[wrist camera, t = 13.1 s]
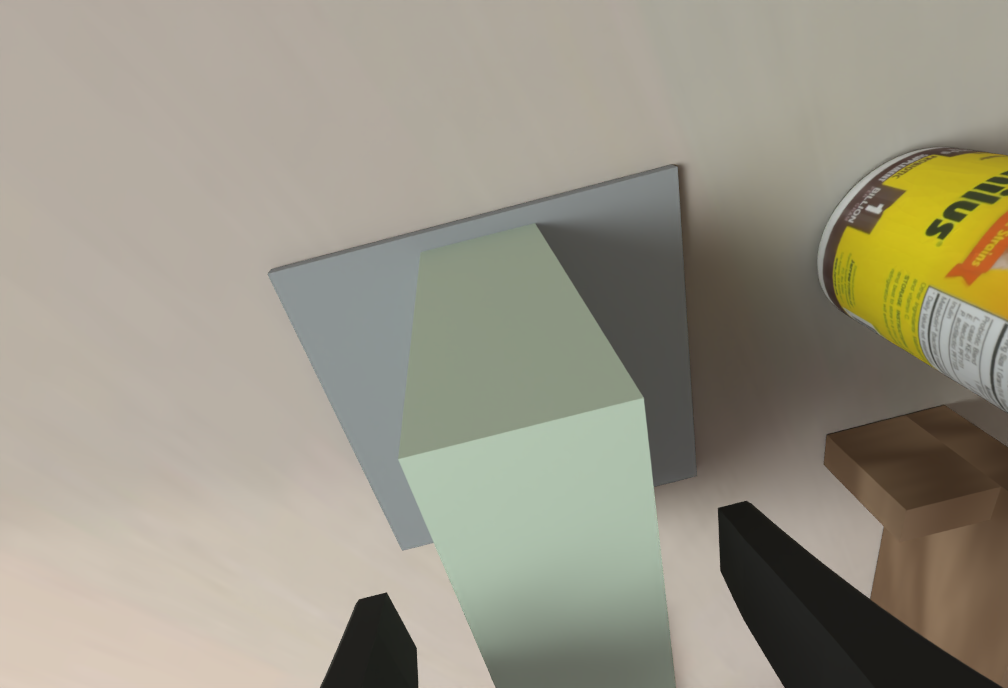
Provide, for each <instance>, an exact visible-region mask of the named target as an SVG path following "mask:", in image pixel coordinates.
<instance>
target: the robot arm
mask: <svg viewBox="0 0 1008 688" xmlns="http://www.w3.org/2000/svg"><path fill="white" fill-rule="evenodd" d="M718 521H719V547H720V571H721V573H722V575H723V577H724V579H725V582H726V584H727V586H728V588H729V590H730V592H731V594H732V597H733V599H734V601H735V603H736V605H737V607H738V609H739V611H740V613H741V615H742V617H743V619H744V621H745V623H746V624H747V626H748V628H749V629H750V631H751V633H752V635H753V636H754V638H755V640H756V641H757V643H758V644H759V646H760V648H761V649H762V651H763V653H764V654H765V656H766V658H767V659H768V661H769V663H770V664H771V666H772V668H773V669H774V671H775V673H776V674H777V676H778V677H779V679H780V681H781V682H782V684H783V686H784V687H785V688H1003V687H1002V686H1000V685H998V684H997V683H995V682H993V681H992V680H990V679H988V678H987V677H985V676H984V675H982V674H980V673H979V672H977V671H975V670H974V669H972V668H971V667H969V666H968V665H966V664H964V663H963V662H961V661H960V660H958V659H957V658H955V657H953V656H952V655H950V654H949V653H947V652H946V651H944V650H943V649H941V648H940V647H938V646H937V645H935V644H934V643H932V642H931V641H929V640H927V639H926V638H925V637H923V636H922V635H920V634H919V633H917V632H916V631H914V630H913V629H911V628H910V627H908V626H907V625H906V624H904V623H903V622H901V621H900V620H898V619H897V618H896V617H894V616H893V615H891V614H890V613H889V612H887V611H886V610H884V609H883V608H881V607H880V606H879V605H877V604H876V603H875V602H873V601H872V600H870V599H869V598H868V597H866V596H865V595H864V594H862V593H861V592H860V591H858V590H857V589H856V588H854V587H853V586H852V585H850V584H849V583H848V582H846V581H845V580H844V579H843V578H841V577H840V576H839V575H837V574H836V573H835V572H833V571H832V570H831V569H830V568H828V567H827V566H826V565H824V564H823V563H822V562H821V561H819V560H818V559H817V558H816V557H814V556H813V555H812V554H810V553H809V552H808V551H807V550H806V549H804V548H803V547H802V546H801V545H799V544H798V543H797V542H796V541H795V540H793V539H792V538H791V537H790V536H789V535H787V534H786V533H785V532H784V531H783V530H781V529H780V528H779V527H778V526H777V525H775V524H774V523H773V522H772V521H771V520H770V519H768V518H767V517H766V516H765V515H764V514H763V513H762V512H760V511H759V510H758V509H757V508H756V507H755V506H753V505H752V504H751V503H749V502H748V501H744V502H740V503H736V504H732V505H728V506H724V507H720V508H718ZM320 688H418V667H417V648H416V646H415V644H414V642H413V640H412V638H411V637H410V635H409V633H408V631H407V629H406V627H405V625H404V624H403V622H402V620H401V618H400V616H399V614H398V612H397V611H396V609H395V607H394V605H393V603H392V601H391V599H390V598H389V596H388V594H387V592H386V593H383V594H379V595H375V596H371V597H367V598H363V599H359V600H358V602H357V603H356V605H355V607H354V610H353V612H352V615H351V617H350V620H349V622H348V624H347V627H346V629H345V632H344V634H343V636H342V639H341V641H340V643H339V646H338V648H337V650H336V653H335V655H334V657H333V660H332V662H331V664H330V667H329V669H328V671H327V673H326V676H325V678H324V680H323V682H322V684H321V687H320Z"/></svg>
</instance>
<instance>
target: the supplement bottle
mask: <svg viewBox="0 0 1008 688" xmlns="http://www.w3.org/2000/svg"><path fill="white" fill-rule="evenodd" d="M817 269H818V276H819V281H820V284H821V286H822V289H823V291H824V293H825V294H826V296H827V297H828V299H829V300H830V301H831V303H832V304H833V305H834V306H836V307H837V308H838V309H839V310H840V311H842V312H843V313H845V314H846V315H848V316H849V317H851V318H853V319H854V320H856V321H858V322H859V323H861V324H863V325H864V326H866V327H867V328H869V329H871V330H872V331H874V332H875V333H877V334H879V335H880V336H882V337H883V338H885V339H887V340H888V341H890V342H892V343H893V344H895V345H897V346H898V347H900V348H902V349H904V350H905V351H907V352H909V353H910V354H912V355H913V356H915V357H917V358H918V359H920V360H921V361H923V362H925V363H926V364H928V365H930V366H931V367H933V368H934V369H936V370H937V371H939V372H941V373H942V374H944V375H946V376H947V377H949V378H951V379H952V380H954V381H956V382H957V383H959V384H961V385H962V386H964V387H966V388H967V389H969V390H971V391H972V392H974V393H975V394H977V395H979V396H980V397H982V398H984V399H985V400H987V401H989V402H990V403H992V404H993V405H995V406H997V407H998V408H1000V409H1002V410H1003V411H1005V412H1007V413H1008V156H1007V155H1001V154H993V153H987V152H980V151H974V150H966V149H958V148H948V147H936V148H927V149H922V150H917V151H913V152H910V153H907V154H904V155H901V156H899V157H897V158H895V159H892V160H891V161H889V162H887V163H885V164H883V165H881V166H880V167H878V168H877V169H875V170H874V171H872V172H871V173H869V174H868V175H867V176H866V177H864V178H863V179H862V180H861V181H860V182H859V183H857V184H856V185H855V186H854V187H853V188H852V189H851V190H850V191H849V192H848V194H847V195H846V196H845V197H844V198H843V200H842V201H841V202H840V204H839V205H838V206H837V208H836V209H835V211H834V212H833V214H832V215H831V217H830V219H829V221H828V223H827V225H826V227H825V230H824V232H823V235H822V238H821V241H820V245H819V249H818V258H817Z"/></svg>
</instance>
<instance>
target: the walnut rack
mask: <svg viewBox="0 0 1008 688" xmlns="http://www.w3.org/2000/svg"><path fill="white" fill-rule="evenodd" d="M824 465H825V466H826V467H827V468H828V470H829V471H830V472H831V473H832V474H833V475H834V476H835V477H836V478H837V479H838V480H839V481H840V482H841V483H842V484H843V485H844V486H845V487H846V488H847V489H848V490H849V491H850V492H851V493H852V494H853V495H854V496H855V497H856V498H857V499H858V500H859V501H860V502H861V503H862V504H863V505H864V506H865V507H866V509H867V510H868V511H869V512H870V513H871V514H872V515H873V516H874V517H875V518H876V519H877V520H878V521H879V522H880V523H881V524H882V525H883V526H884V529H883V535H882V540H881V545H880V550H879V556H878V561H877V566H876V572H875V577H874V582H873V587H872V593H871V598H870V600H872V601H873V602H875V603H876V604H877V605H879V606H880V607H881V608H883V609H884V610H886V611H887V612H889V613H890V614H891V615H893V616H894V617H896V618H897V619H898V620H900V621H901V622H903V623H904V624H906V625H907V626H908V627H910V628H911V629H913V630H914V631H916V632H917V633H919V634H920V635H922V636H923V637H925V638H926V639H927V640H929V641H931V642H932V643H934V644H935V645H937V646H938V647H940V648H941V649H943V650H944V651H946V652H947V653H949V654H950V655H952V656H953V657H955V658H957V659H958V660H960V661H961V662H963V663H964V664H966V665H968V666H969V667H971V668H972V669H974V670H975V671H977V672H979V673H980V674H982V675H984V676H985V677H987V678H988V679H990V680H992V681H993V682H995V683H997V684H998V685H1000V686H1002V687H1003V688H1008V447H1007V446H1005V445H1004V444H1002V443H1001V442H999V441H998V440H996V439H995V438H993V437H992V436H990V435H989V434H987V433H986V432H984V431H983V430H981V429H980V428H978V427H977V426H975V425H974V424H972V423H971V422H969V421H968V420H966V419H965V418H963V417H962V416H960V415H958V414H957V413H955V412H954V411H952V410H951V409H949V408H948V407H946V406H945V405H943V406H939V407H936V408H932V409H928V410H924V411H920V412H916V413H912V414H908V415H904V416H900V417H896V418H892V419H888V420H884V421H880V422H876V423H872V424H868V425H865V426H861V427H857V428H853V429H849V430H845V431H841V432H837V433H833V434H829V435H827V437H826V447H825V457H824Z"/></svg>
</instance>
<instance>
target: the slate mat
mask: <svg viewBox="0 0 1008 688" xmlns="http://www.w3.org/2000/svg"><path fill="white" fill-rule="evenodd" d="M534 223H535V224H536V226H537V227H538V229H539V230H540V232H541V234H542V235H543V237H544V238H545V240H546V242H547V243H548V245H549V246H550V248H551V250H552V251H553V253H554V254H555V256H556V258H557V259H558V261H559V262H560V264H561V266H562V267H563V269H564V271H565V272H566V274H567V275H568V277H569V279H570V280H571V282H572V283H573V285H574V287H575V288H576V290H577V291H578V293H579V295H580V296H581V298H582V299H583V301H584V303H585V304H586V306H587V307H588V309H589V311H590V312H591V314H592V316H593V317H594V319H595V320H596V322H597V324H598V325H599V327H600V328H601V330H602V332H603V333H604V335H605V336H606V338H607V340H608V341H609V343H610V344H611V346H612V348H613V349H614V351H615V352H616V354H617V356H618V357H619V359H620V360H621V362H622V364H623V365H624V367H625V369H626V370H627V372H628V373H629V375H630V377H631V378H632V380H633V381H634V383H635V385H636V386H637V388H638V389H639V391H640V393H641V394H642V396H643V397H644V405H645V414H646V423H647V432H648V441H649V450H650V459H651V468H652V477H653V486H654V487H656V486H660V485H663V484H667V483H671V482H675V481H679V480H683V479H687V478H691V477H695V476H697V470H696V454H695V438H694V422H693V406H692V390H691V374H690V358H689V342H688V326H687V310H686V294H685V278H684V262H683V246H682V230H681V214H680V198H679V182H678V167H677V166H674V165H668V166H664V167H660V168H657V169H653V170H649V171H645V172H641V173H638V174H634V175H630V176H626V177H622V178H618V179H615V180H611V181H607V182H603V183H599V184H595V185H592V186H588V187H584V188H580V189H576V190H572V191H569V192H565V193H561V194H557V195H553V196H550V197H546V198H542V199H538V200H534V201H530V202H527V203H523V204H519V205H515V206H511V207H507V208H504V209H500V210H496V211H492V212H488V213H484V214H481V215H477V216H473V217H469V218H465V219H462V220H458V221H454V222H450V223H446V224H442V225H439V226H435V227H431V228H427V229H423V230H419V231H416V232H412V233H408V234H404V235H400V236H396V237H393V238H389V239H385V240H381V241H377V242H373V243H370V244H366V245H362V246H358V247H354V248H351V249H347V250H343V251H339V252H335V253H331V254H328V255H324V256H320V257H316V258H312V259H308V260H305V261H301V262H297V263H293V264H289V265H285V266H282V267H278V268H274V269H271V270H270V271H269V273H268V276H269V278H270V280H271V282H272V284H273V286H274V289H275V291H276V293H277V295H278V297H279V299H280V301H281V303H282V305H283V307H284V309H285V311H286V313H287V315H288V317H289V319H290V321H291V323H292V325H293V328H294V330H295V332H296V334H297V336H298V338H299V340H300V342H301V344H302V346H303V348H304V350H305V352H306V354H307V356H308V358H309V360H310V362H311V364H312V366H313V369H314V371H315V373H316V375H317V377H318V379H319V381H320V383H321V385H322V387H323V389H324V391H325V393H326V395H327V397H328V399H329V401H330V403H331V405H332V408H333V410H334V412H335V414H336V416H337V418H338V420H339V422H340V424H341V426H342V428H343V430H344V432H345V434H346V436H347V438H348V440H349V442H350V444H351V447H352V449H353V451H354V453H355V455H356V457H357V459H358V461H359V463H360V465H361V467H362V469H363V471H364V473H365V475H366V477H367V479H368V481H369V483H370V486H371V488H372V490H373V492H374V494H375V496H376V498H377V500H378V502H379V504H380V506H381V508H382V510H383V512H384V514H385V516H386V518H387V520H388V522H389V525H390V527H391V529H392V531H393V533H394V535H395V537H396V539H397V541H398V543H399V545H400V547H401V549H402V551H403V550H407V549H411V548H415V547H419V546H423V545H427V544H431V543H434V542H433V540H432V537H431V535H430V533H429V530H428V528H427V526H426V523H425V521H424V519H423V516H422V514H421V512H420V509H419V507H418V505H417V502H416V500H415V498H414V495H413V493H412V491H411V488H410V486H409V484H408V481H407V479H406V477H405V474H404V472H403V469H402V467H401V465H400V462H399V460H398V456H399V446H400V437H401V428H402V419H403V409H404V400H405V391H406V382H407V373H408V363H409V354H410V345H411V336H412V326H413V317H414V308H415V299H416V289H417V280H418V271H419V262H420V253H421V252H423V251H427V250H431V249H435V248H439V247H443V246H447V245H451V244H455V243H459V242H463V241H467V240H471V239H474V238H478V237H482V236H486V235H490V234H494V233H498V232H502V231H506V230H510V229H514V228H518V227H522V226H526V225H530V224H534Z"/></svg>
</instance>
